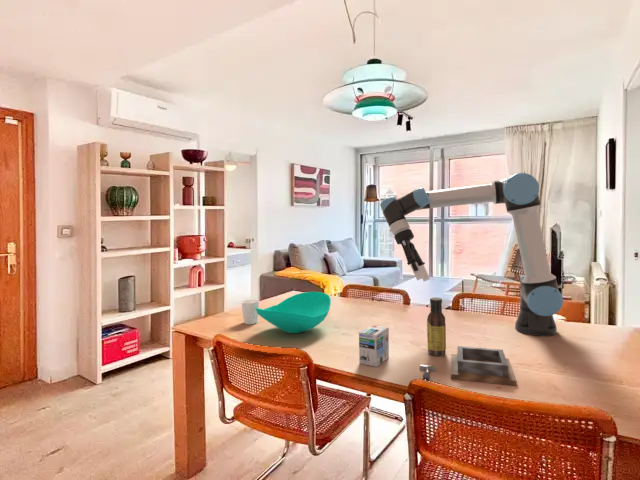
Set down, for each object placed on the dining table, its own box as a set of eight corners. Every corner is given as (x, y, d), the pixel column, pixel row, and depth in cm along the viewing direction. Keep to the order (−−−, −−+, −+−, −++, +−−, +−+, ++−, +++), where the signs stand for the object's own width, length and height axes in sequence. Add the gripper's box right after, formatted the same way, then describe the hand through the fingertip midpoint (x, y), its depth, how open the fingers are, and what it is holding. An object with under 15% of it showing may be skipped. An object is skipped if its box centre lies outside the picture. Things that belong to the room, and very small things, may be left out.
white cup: (239, 324, 187) (238, 302, 186) (248, 319, 194) (247, 299, 193) (253, 325, 184) (253, 303, 183) (262, 321, 191) (262, 300, 191)
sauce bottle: (432, 349, 148) (432, 295, 147) (448, 353, 144) (449, 297, 143) (424, 354, 144) (423, 298, 142) (440, 358, 139) (440, 301, 138)
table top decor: (295, 316, 199) (295, 289, 198) (345, 323, 184) (345, 294, 183) (239, 338, 165) (238, 306, 164) (294, 350, 151) (293, 315, 150)
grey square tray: (508, 363, 134) (508, 348, 133) (516, 385, 117) (516, 368, 116) (451, 357, 139) (451, 343, 139) (450, 378, 122) (450, 362, 122)
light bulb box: (377, 367, 132) (376, 335, 132) (358, 363, 136) (358, 332, 135) (389, 357, 142) (389, 326, 141) (371, 353, 145) (371, 324, 144)
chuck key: (420, 368, 131) (420, 362, 131) (436, 369, 130) (436, 363, 129) (417, 379, 122) (417, 373, 122) (434, 381, 121) (434, 375, 121)
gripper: (401, 240, 180) (421, 284, 174) (385, 232, 157) (408, 282, 151) (416, 232, 177) (437, 277, 171) (403, 223, 155) (427, 274, 149)
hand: (424, 279), depth 161 cm, fingers open, 13 cm apart
